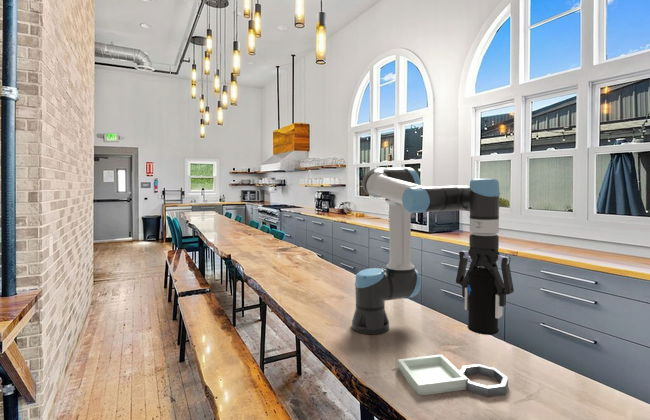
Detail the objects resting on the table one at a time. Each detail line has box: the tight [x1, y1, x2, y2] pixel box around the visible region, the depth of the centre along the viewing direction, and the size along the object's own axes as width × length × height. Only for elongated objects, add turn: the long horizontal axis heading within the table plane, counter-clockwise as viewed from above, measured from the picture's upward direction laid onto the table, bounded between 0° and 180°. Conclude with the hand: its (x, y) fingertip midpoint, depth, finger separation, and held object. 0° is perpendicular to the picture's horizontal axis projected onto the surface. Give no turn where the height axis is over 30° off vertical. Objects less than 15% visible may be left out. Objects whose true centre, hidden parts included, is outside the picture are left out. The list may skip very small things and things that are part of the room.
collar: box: [459, 363, 509, 398], centre depth 104 cm, size 12×12×2 cm
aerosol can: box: [467, 266, 499, 336], centre depth 102 cm, size 8×8×20 cm
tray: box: [397, 353, 469, 397], centre depth 107 cm, size 15×15×3 cm
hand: (483, 312), depth 103 cm, fingers closed on aerosol can, 8 cm apart
